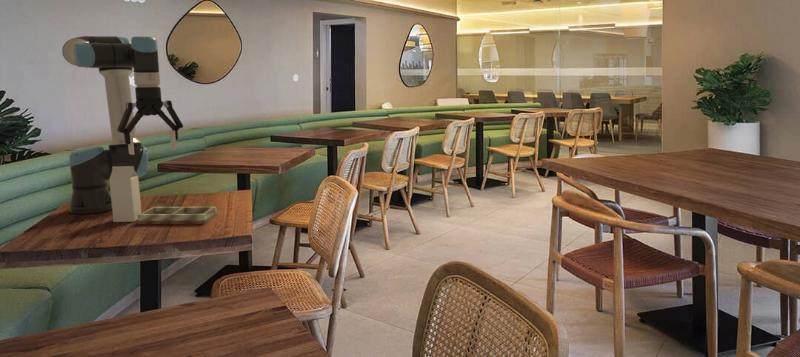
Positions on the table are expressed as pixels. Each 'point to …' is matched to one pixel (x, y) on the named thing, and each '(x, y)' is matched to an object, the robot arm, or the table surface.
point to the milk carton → (125, 194)
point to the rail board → (177, 215)
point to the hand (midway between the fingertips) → (153, 152)
